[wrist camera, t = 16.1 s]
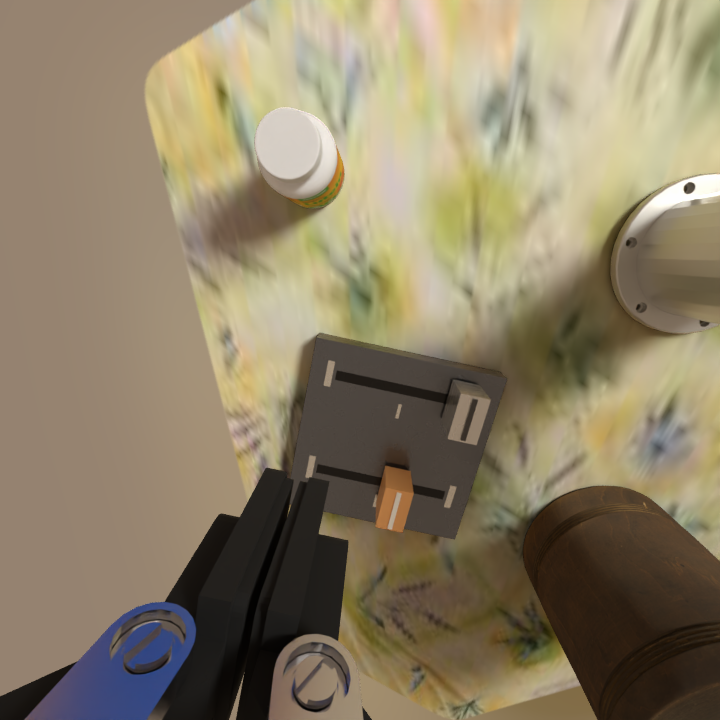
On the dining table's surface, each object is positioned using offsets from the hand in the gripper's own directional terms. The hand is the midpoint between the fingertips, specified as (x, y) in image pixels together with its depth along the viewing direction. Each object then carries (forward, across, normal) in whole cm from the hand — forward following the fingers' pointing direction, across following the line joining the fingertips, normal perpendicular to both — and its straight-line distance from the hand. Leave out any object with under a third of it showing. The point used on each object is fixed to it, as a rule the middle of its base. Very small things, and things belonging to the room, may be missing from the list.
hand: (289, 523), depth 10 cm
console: (+27, -6, +10) cm, 29 cm away
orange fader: (+25, -7, +14) cm, 29 cm away
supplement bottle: (+27, +6, -12) cm, 30 cm away
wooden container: (+27, -29, +17) cm, 43 cm away
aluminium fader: (+25, -11, +4) cm, 27 cm away
